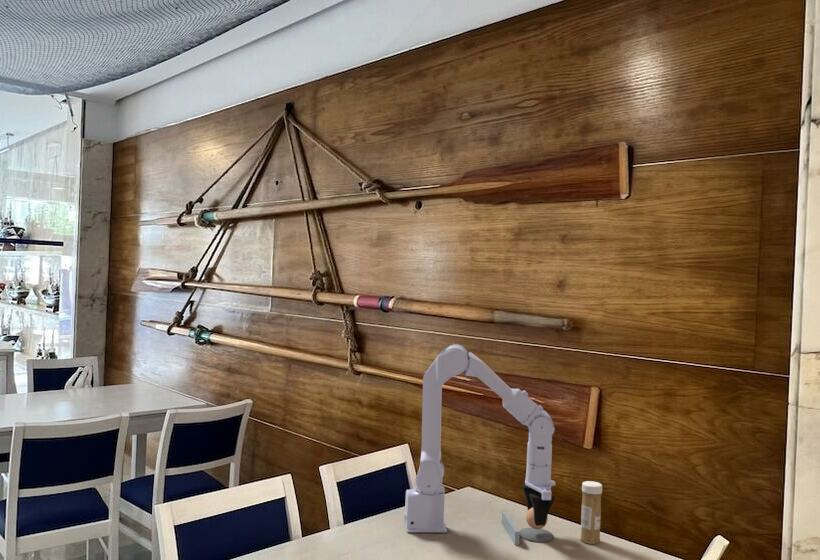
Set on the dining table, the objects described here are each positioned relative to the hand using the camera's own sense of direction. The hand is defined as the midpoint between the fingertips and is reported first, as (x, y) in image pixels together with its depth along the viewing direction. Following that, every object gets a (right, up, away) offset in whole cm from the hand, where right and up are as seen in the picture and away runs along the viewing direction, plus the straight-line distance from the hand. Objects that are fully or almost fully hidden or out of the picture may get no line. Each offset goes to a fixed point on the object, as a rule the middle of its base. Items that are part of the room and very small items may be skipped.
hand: (536, 520), depth 156 cm
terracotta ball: (0, -2, 0) cm, 2 cm away
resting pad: (0, -4, 0) cm, 4 cm away
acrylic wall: (-6, -3, 0) cm, 7 cm away
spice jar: (+12, -4, -2) cm, 13 cm away
